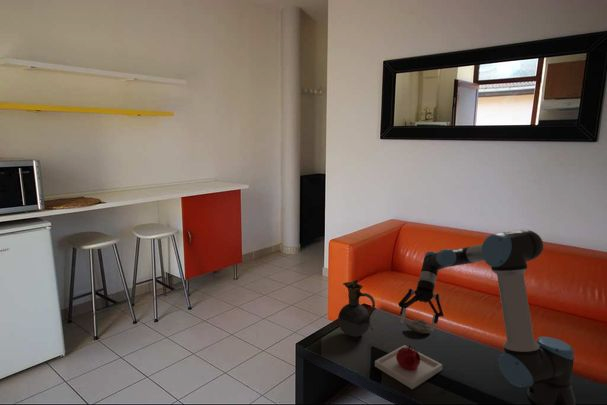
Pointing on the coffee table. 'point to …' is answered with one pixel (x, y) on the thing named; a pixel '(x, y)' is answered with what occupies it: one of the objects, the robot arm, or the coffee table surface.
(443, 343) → the coffee table surface
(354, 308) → the pitcher
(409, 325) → the fossilized seashell
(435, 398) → the coffee table surface
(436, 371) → the tray
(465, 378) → the coffee table surface
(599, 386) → the coffee table surface
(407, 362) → the pomegranate
